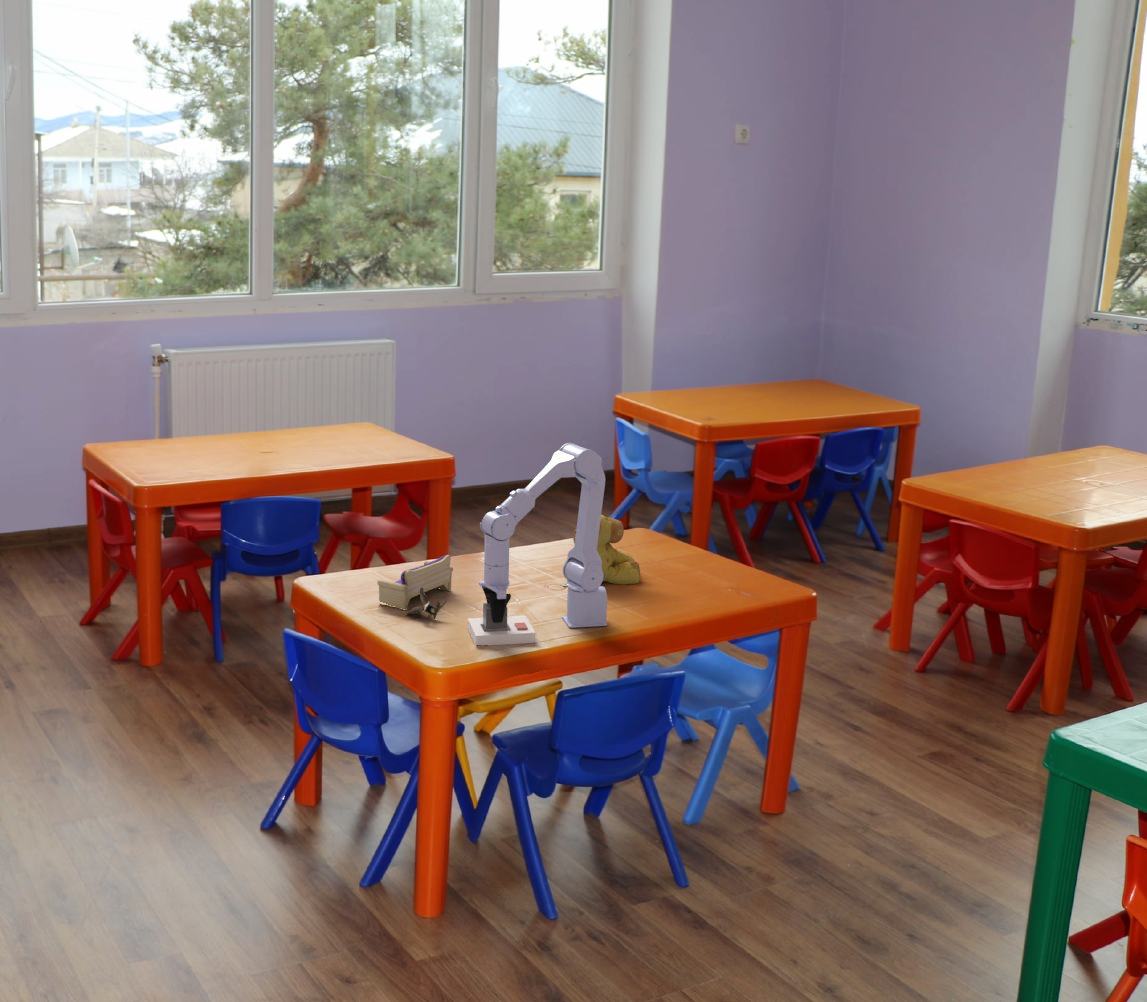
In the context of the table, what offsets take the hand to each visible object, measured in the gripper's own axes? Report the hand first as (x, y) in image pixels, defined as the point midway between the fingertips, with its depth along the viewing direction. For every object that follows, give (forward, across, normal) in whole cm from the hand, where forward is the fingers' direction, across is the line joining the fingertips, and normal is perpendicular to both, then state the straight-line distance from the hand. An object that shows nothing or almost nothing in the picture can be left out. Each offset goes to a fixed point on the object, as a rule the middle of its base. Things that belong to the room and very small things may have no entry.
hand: (495, 618), depth 298 cm
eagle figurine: (+5, -18, -14) cm, 23 cm away
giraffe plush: (+5, -41, +36) cm, 55 cm away
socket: (+5, -1, +2) cm, 5 cm away
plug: (+2, 0, 0) cm, 2 cm away
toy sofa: (+5, -32, -15) cm, 36 cm away
